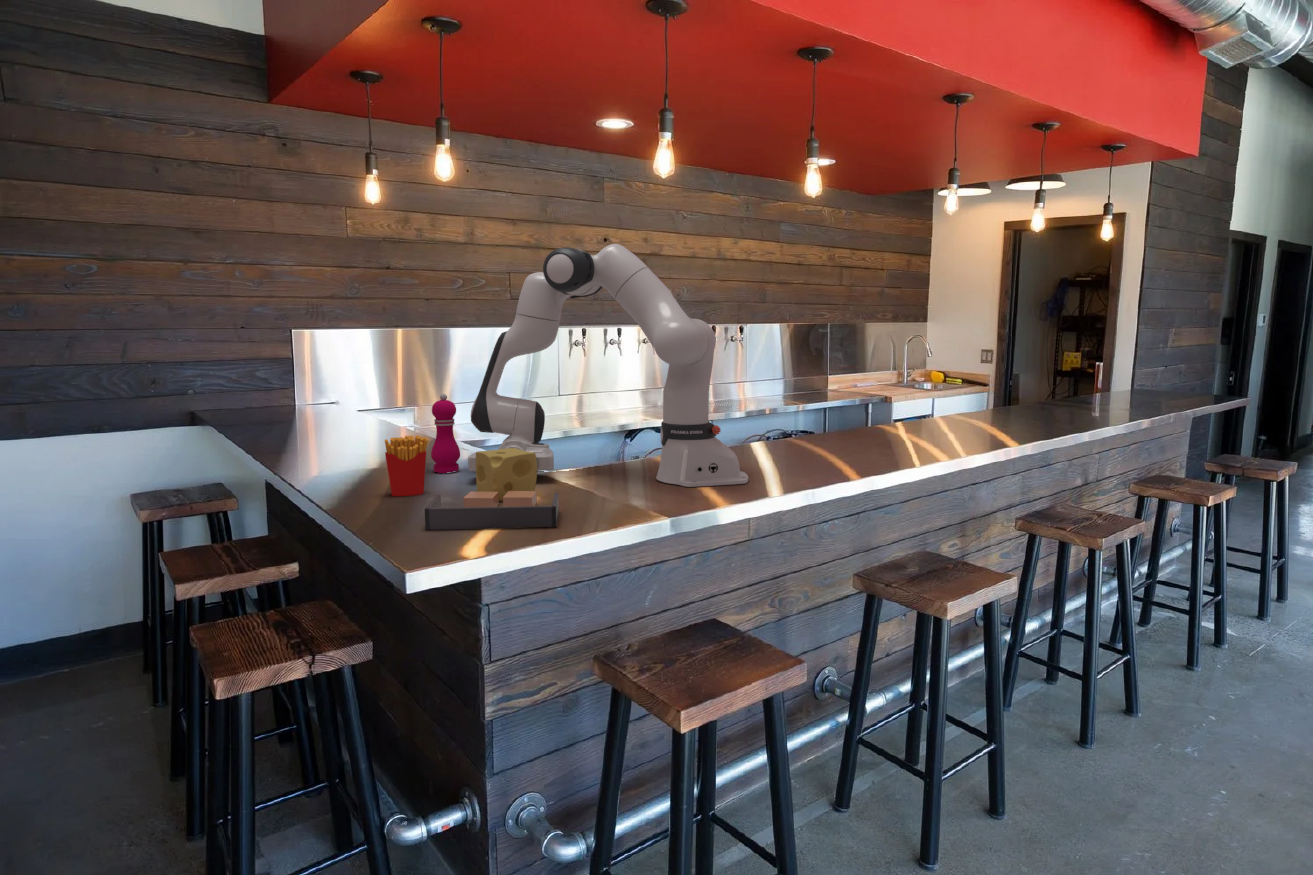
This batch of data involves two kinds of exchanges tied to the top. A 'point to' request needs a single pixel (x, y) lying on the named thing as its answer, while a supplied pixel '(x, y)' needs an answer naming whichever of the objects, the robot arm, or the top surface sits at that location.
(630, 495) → the top surface
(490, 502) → the tile
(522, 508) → the box
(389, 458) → the french fries
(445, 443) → the pepper mill
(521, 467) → the cheese
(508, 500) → the tile
